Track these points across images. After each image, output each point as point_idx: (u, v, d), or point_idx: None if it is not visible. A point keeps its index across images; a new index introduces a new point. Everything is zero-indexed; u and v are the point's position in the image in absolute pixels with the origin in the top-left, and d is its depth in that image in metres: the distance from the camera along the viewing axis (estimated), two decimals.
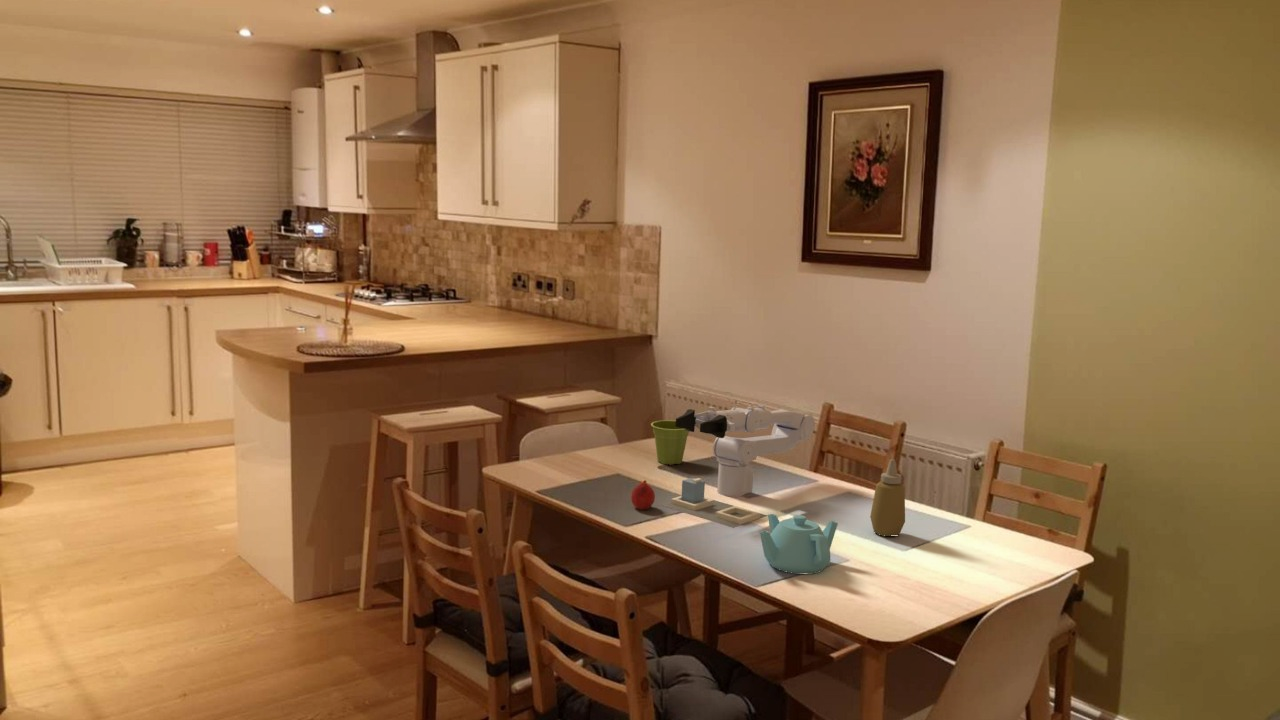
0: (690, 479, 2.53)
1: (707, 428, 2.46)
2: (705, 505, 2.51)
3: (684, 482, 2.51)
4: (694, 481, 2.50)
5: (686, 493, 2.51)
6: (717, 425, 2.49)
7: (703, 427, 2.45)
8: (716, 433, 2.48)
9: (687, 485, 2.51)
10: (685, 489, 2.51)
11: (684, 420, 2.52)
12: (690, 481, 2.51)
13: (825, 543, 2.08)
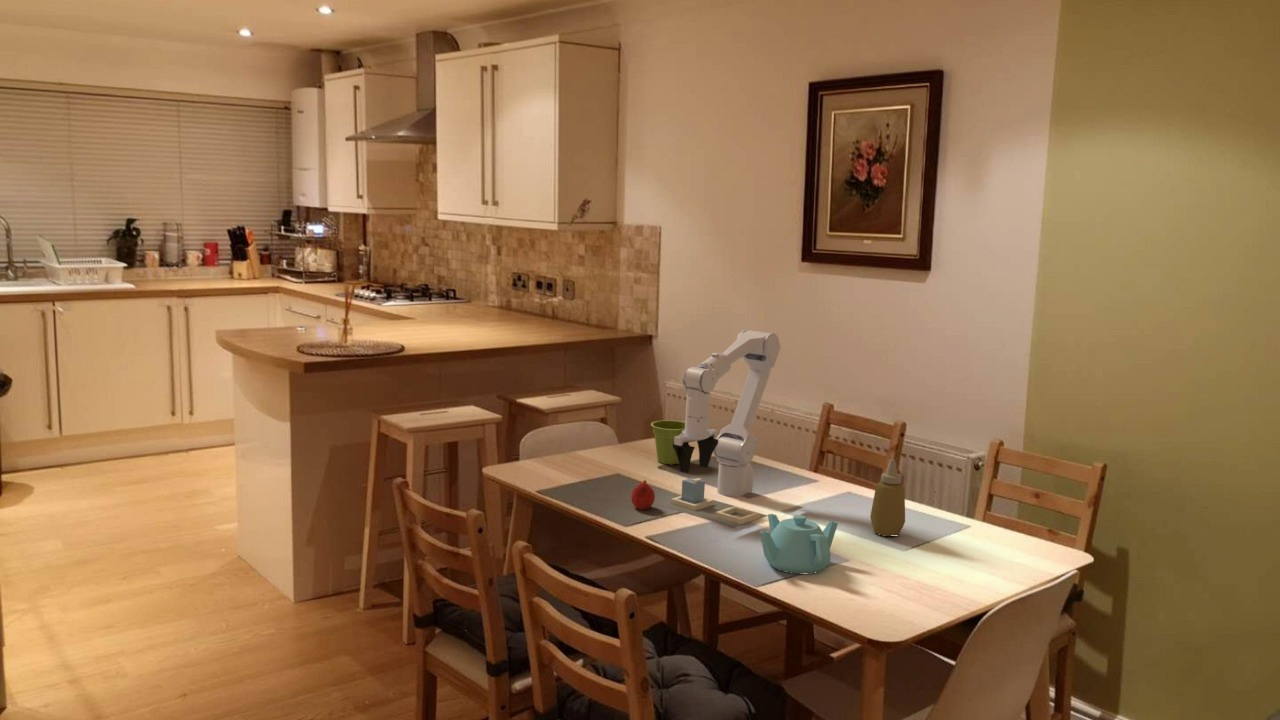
0: (690, 479, 2.53)
1: (684, 465, 2.48)
2: (705, 505, 2.51)
3: (684, 482, 2.51)
4: (694, 481, 2.50)
5: (686, 493, 2.51)
6: (683, 449, 2.48)
7: (683, 470, 2.48)
8: (686, 456, 2.46)
9: (687, 485, 2.51)
10: (685, 489, 2.51)
11: (702, 456, 2.54)
12: (690, 481, 2.51)
13: (825, 543, 2.08)
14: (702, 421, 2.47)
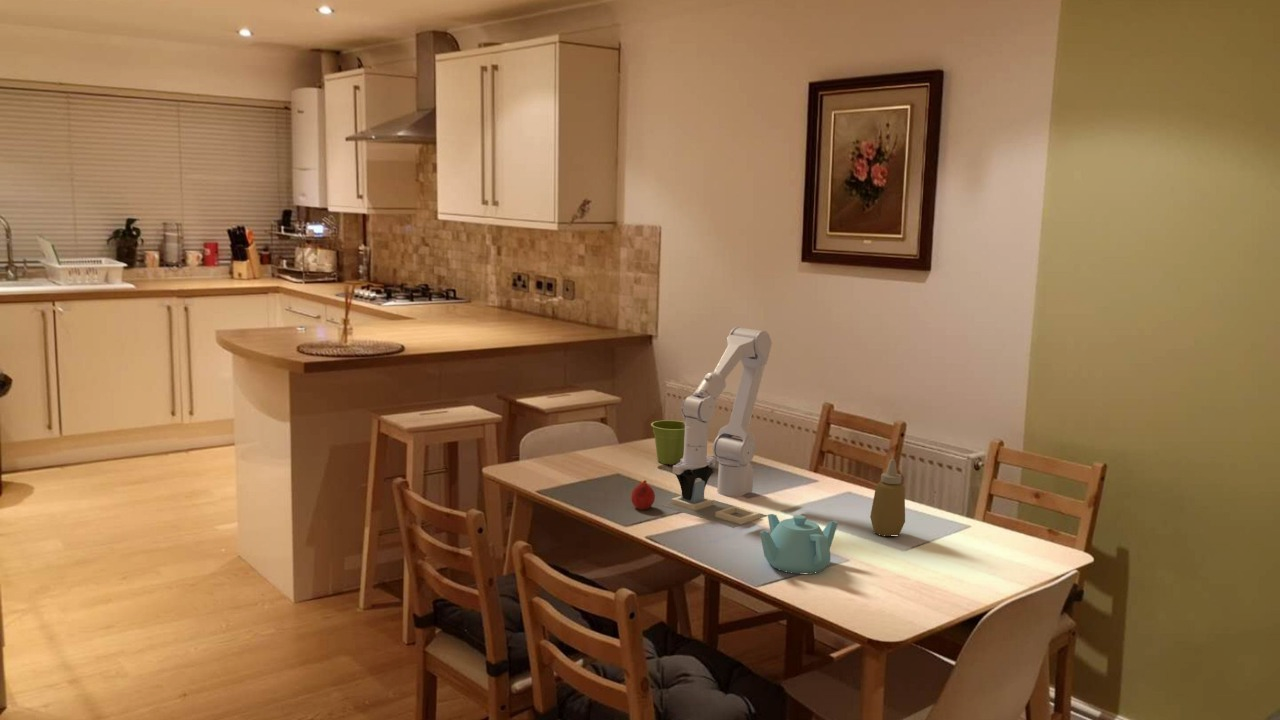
0: None
1: (686, 492, 2.50)
2: (705, 505, 2.51)
3: None
4: None
5: None
6: (685, 477, 2.50)
7: (685, 497, 2.51)
8: (688, 483, 2.48)
9: None
10: None
11: None
12: None
13: (825, 543, 2.08)
14: (700, 450, 2.48)
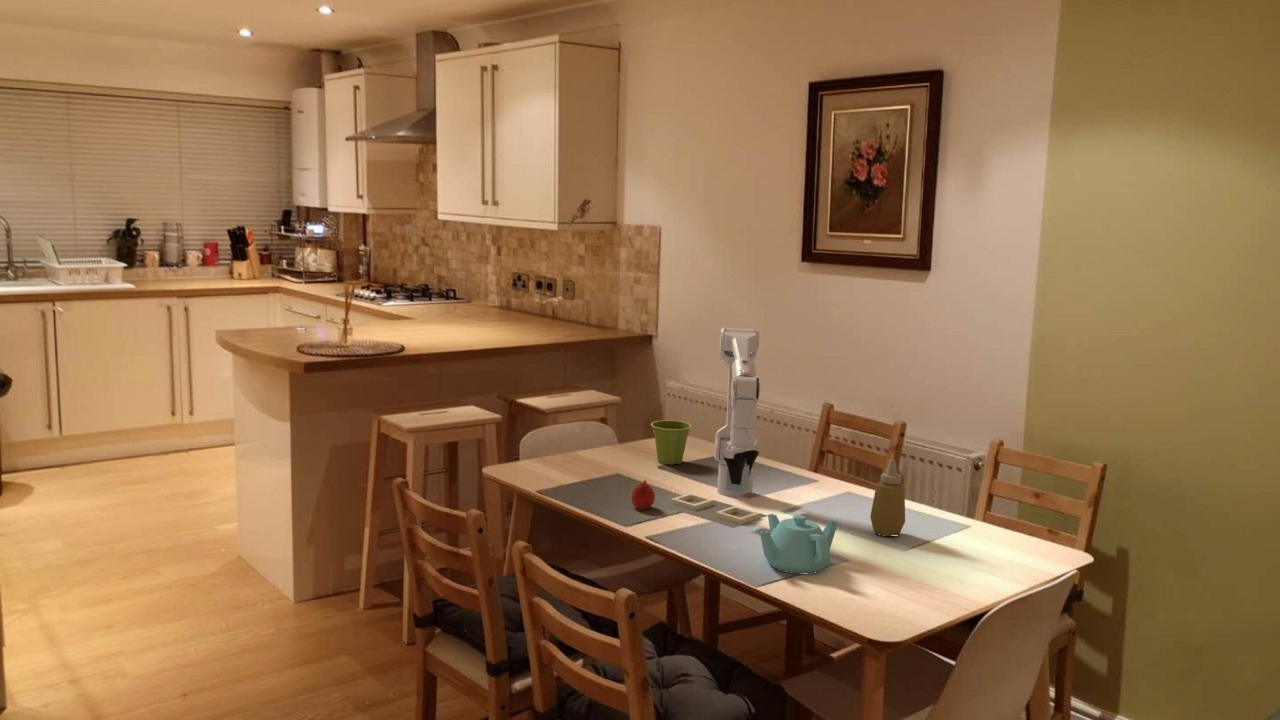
0: None
1: (736, 476, 2.40)
2: (705, 505, 2.51)
3: None
4: None
5: None
6: (734, 460, 2.39)
7: (734, 482, 2.40)
8: (739, 467, 2.38)
9: None
10: None
11: None
12: None
13: (825, 543, 2.08)
14: (750, 432, 2.38)
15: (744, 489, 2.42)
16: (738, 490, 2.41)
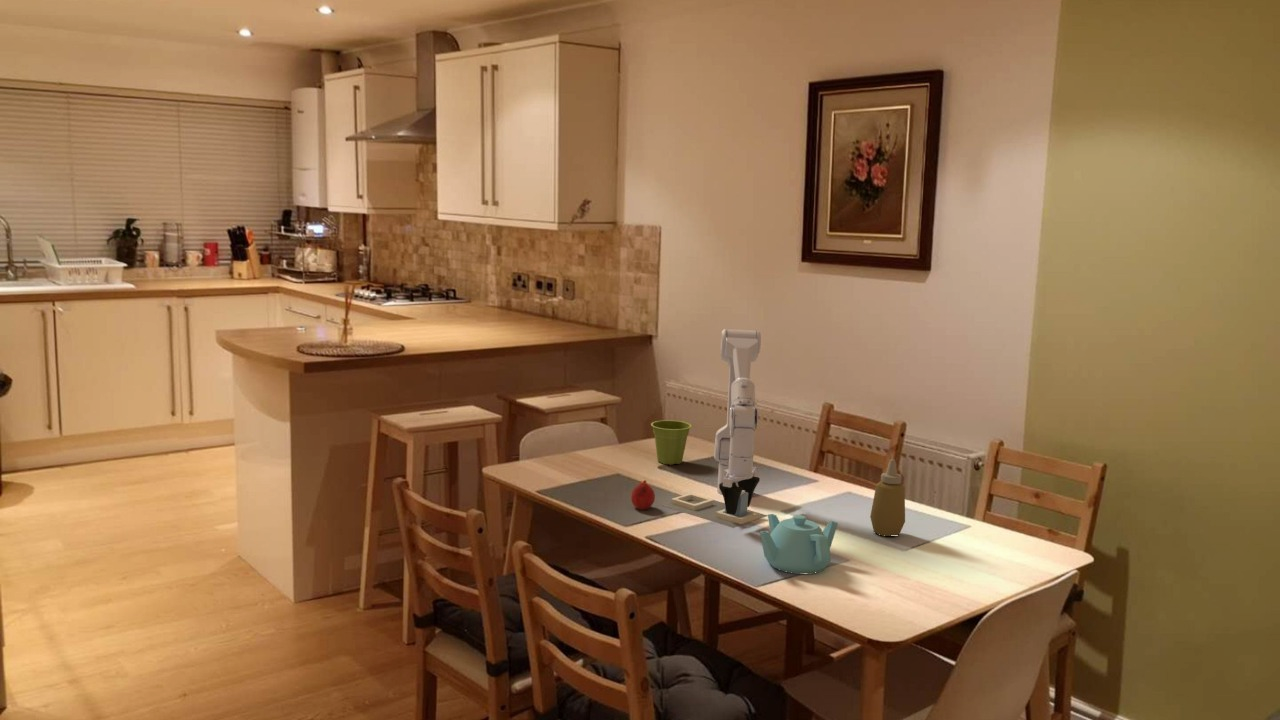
0: None
1: (731, 506, 2.39)
2: (705, 505, 2.51)
3: None
4: None
5: None
6: (730, 490, 2.39)
7: (729, 512, 2.40)
8: (735, 497, 2.38)
9: None
10: None
11: None
12: None
13: (825, 543, 2.08)
14: (749, 460, 2.39)
15: None
16: None
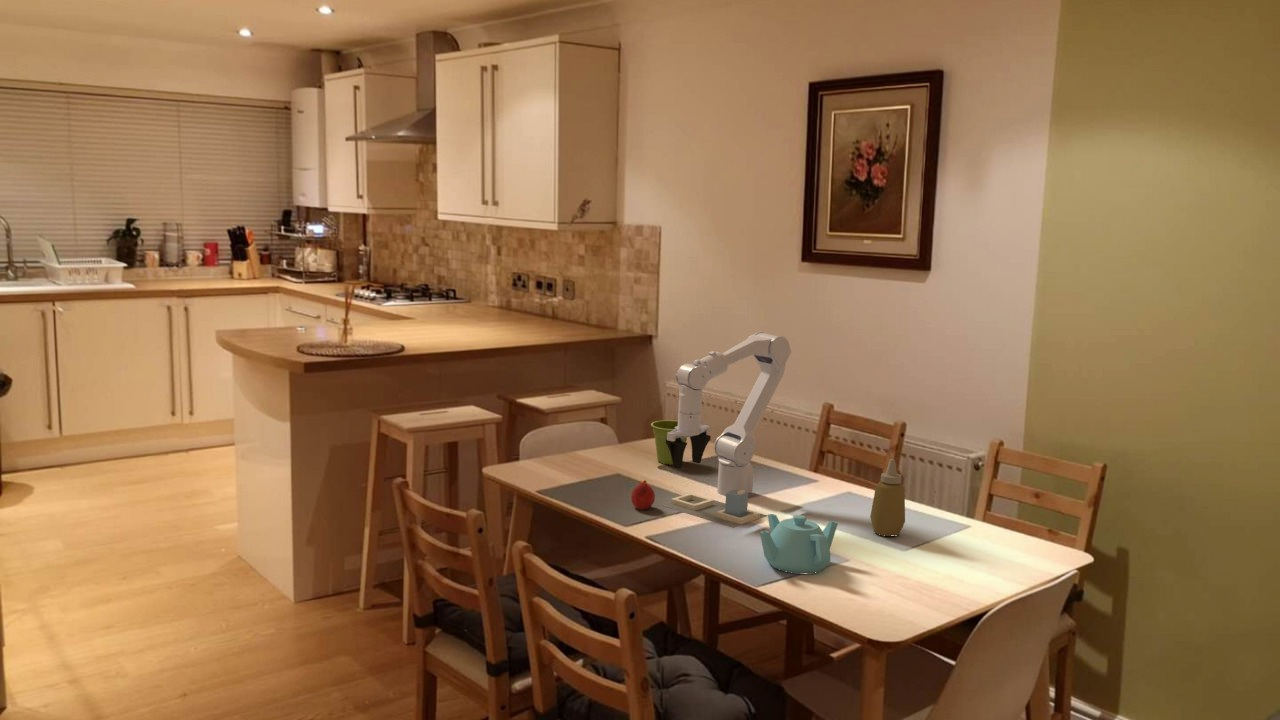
0: (733, 491, 2.44)
1: (677, 460, 2.52)
2: (705, 505, 2.51)
3: (728, 495, 2.42)
4: (739, 493, 2.41)
5: (731, 507, 2.42)
6: (675, 445, 2.52)
7: (675, 465, 2.53)
8: (679, 451, 2.50)
9: (732, 498, 2.42)
10: (729, 502, 2.42)
11: (695, 451, 2.58)
12: (734, 493, 2.42)
13: (825, 543, 2.08)
14: (694, 417, 2.51)
15: None
16: None
